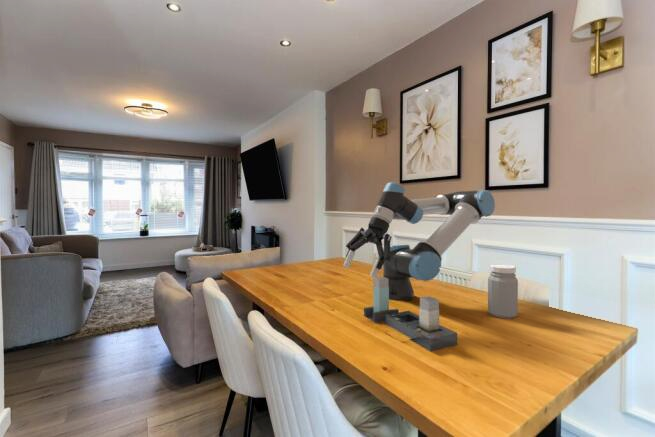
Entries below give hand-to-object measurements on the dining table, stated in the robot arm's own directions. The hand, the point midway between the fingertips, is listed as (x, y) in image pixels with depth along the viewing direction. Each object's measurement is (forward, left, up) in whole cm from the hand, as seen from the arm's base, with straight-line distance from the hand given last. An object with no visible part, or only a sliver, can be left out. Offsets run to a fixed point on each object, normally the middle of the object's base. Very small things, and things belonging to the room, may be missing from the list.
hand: (358, 271), depth 117 cm
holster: (-6, +6, -16) cm, 18 cm away
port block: (-8, +23, -16) cm, 30 cm away
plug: (-6, +6, -16) cm, 18 cm away
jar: (-48, +22, -17) cm, 55 cm away
